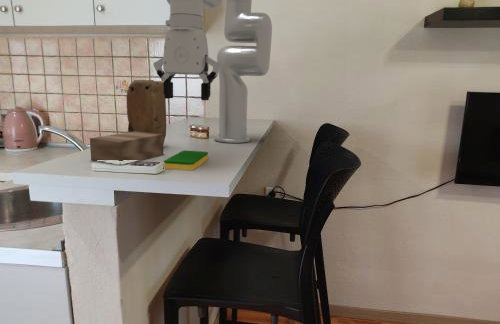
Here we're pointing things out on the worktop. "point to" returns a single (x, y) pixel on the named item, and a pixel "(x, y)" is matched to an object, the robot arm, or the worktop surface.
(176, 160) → the dish sponge
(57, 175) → the worktop surface
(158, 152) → the walnut block
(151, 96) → the block
